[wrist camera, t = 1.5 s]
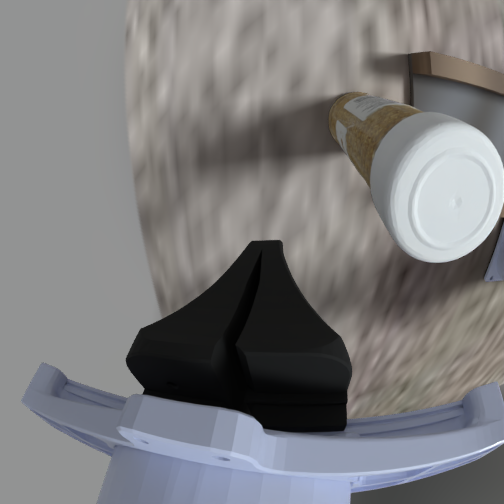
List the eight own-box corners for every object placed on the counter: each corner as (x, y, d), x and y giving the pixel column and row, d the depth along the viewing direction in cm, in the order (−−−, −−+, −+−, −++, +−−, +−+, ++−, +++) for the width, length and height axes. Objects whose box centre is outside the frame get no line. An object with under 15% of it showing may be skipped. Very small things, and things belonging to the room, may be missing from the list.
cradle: (526, 89, 11) (552, 97, 8) (513, 200, 17) (534, 219, 14) (408, 53, 13) (429, 51, 10) (405, 193, 19) (422, 214, 16)
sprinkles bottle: (321, 142, 18) (361, 250, 7) (336, 82, 16) (417, 93, 5) (379, 159, 18) (469, 279, 7) (396, 103, 16) (527, 163, 5)
